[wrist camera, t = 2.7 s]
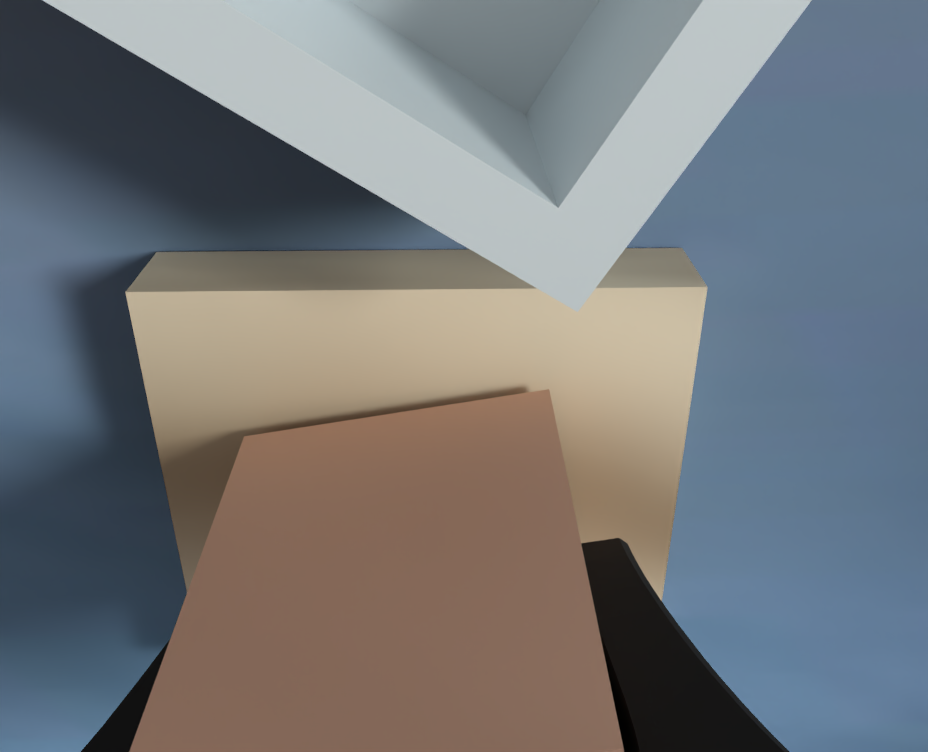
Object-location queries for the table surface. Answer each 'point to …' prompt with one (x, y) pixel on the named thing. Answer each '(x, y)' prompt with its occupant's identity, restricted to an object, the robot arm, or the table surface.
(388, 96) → the bin
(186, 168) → the table surface
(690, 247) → the table surface
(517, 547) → the block
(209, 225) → the table surface
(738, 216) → the table surface
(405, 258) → the base
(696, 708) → the robot arm
